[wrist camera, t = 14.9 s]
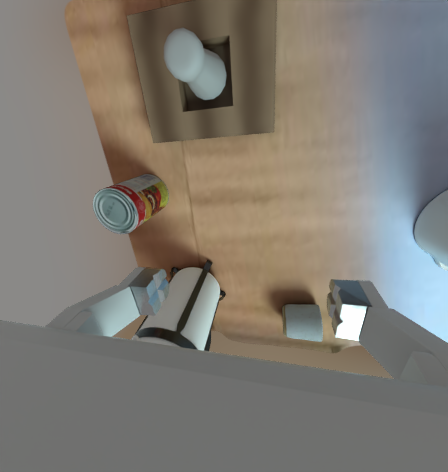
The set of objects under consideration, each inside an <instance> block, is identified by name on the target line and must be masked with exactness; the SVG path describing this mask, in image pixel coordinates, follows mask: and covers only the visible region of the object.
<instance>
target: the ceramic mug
mask: <svg viewBox="0 0 448 472" xmlns="http://www.w3.org/2000/svg"><path fill="white" fill-rule="evenodd" d="M282 316H283V334H284V335H285V336H286V337H290V338H295V339H304V340H311V341H319V342H321V341H322V338H323V326H322V318H321V312H320V308H319V306H318V305H307V304H287V305H284V306H283V307H282Z"/></svg>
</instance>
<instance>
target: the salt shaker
mask: <svg viewBox="0 0 448 472" xmlns="http://www.w3.org/2000/svg"><path fill="white" fill-rule="evenodd" d="M164 60H165V63H166V66H167V68H168V69H169V71H170V72H171V73H172V74H173V76H174V77H175V78H177V79H179V80H181V81H184V82H187V84H188V85H189V87H190V89H191V90H192V91H193V93H194V94H195V95H196V96H197V97H199V98H201V99H203V100H210V99H214V98H216V97H217V96H218V95H220V94H221V92H222V90H223V88H224V87H225V83H226V70H225V65H224V62H223V61H222V60H221V58H220V57H219V56H218V54H216V53H213V52H211V51H209V50H207V49H205V48H203V45H202V43H201V41H200V40H199V39H198V37H197V36H196V35H195V33H193V32H191V31H189V30H187V29H185V28H180V29H175V30H174V31H173V32H172V33H171V34H169V35H168V37H167V39H166V42H165V45H164Z"/></svg>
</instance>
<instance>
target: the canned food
mask: <svg viewBox="0 0 448 472" xmlns="http://www.w3.org/2000/svg"><path fill="white" fill-rule="evenodd" d="M168 200H169V193H168V189H167V187H166V185H165V184H164V182H163V181H162V180H161V179H159V178H158V177H156V176H154V175H150V174H144V175H141V176H138V177H135V178H133V179H130V180H127V181H124V182H121V183H118V184H115V185H113V186H110V187H107V188H104V189H102V190H99V191H98V192H97V193H96V195H95V196H94V199H93V210H94V212H95V215H96V217H97V219H98V220H99V222H100V223H101V224H102V225H103V226H104V227H105V228H107V229H108V230H110V231H112V232H114V233H117V234H127V233H130V232H132V231H133V230H134V229H136V228H137V227H138V226H140V225H141V224H142V223H144V222H145V221H147V220H148V219H149V218H151V217H152V216H153V215H155V214H156V213H157V212H159V211H160V210H161V209H163V208H164V207H165V206H166V205H167V203H168Z"/></svg>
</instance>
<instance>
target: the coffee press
mask: <svg viewBox="0 0 448 472" xmlns="http://www.w3.org/2000/svg"><path fill="white" fill-rule="evenodd" d="M211 265H212V262H210V261H208V260H207V262H206V264H205V266H204V268H203V269H200V268H196V267H189V268H184V269H182V270H180V271H178V269H177V268H175V267H173V268H172V269H171V272H170V274H171V279H170V281H171V282H170V281H169V294H168V296H167V298H166V300H164V301H163V302H161V308H160V309H159V311H158V312H157V314H156V315H155V316H150V315H147V316H146V318H145V319H144V321H143V322H142V324H141V325H140V327H139V329H138V330H137V332H136V334H135V335H134V337H132V339H131V340H136V341H142V342H149V343H156V344H162V345H169V346H176V347H183V348H189V349H196V350H203V351H209V348H210V343H211V327H212V324H213V320H214V317H215V313H216V310H217V306H218V303H219V301H220V300H222V299H223V298H224V297H225V295H226V294H225V292H223V291H220V287H219V284H218V282H217V280H216V279H215V278H214V276H213V275H211V274H210V273H209V272H208V271H209V269H210V267H211ZM173 271H174V272H175V273H176V274H175V276H174V277H173ZM172 277H173V279H172ZM219 295H222V297H221V298H220V299H219ZM218 299H219V300H218Z"/></svg>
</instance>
